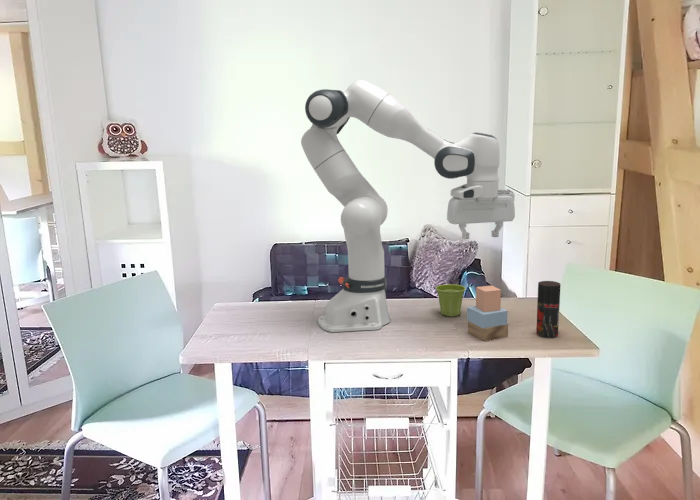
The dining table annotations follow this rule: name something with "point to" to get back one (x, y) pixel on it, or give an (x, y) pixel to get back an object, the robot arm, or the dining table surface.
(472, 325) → the tower base
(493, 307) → the terracotta block
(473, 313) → the tower top
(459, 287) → the plant pot
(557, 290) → the deodorant
